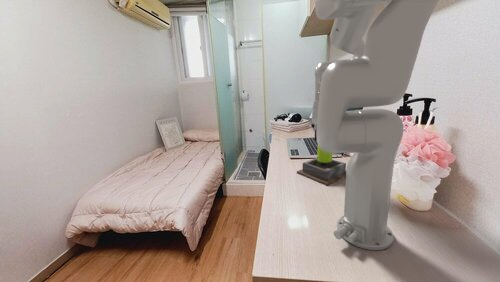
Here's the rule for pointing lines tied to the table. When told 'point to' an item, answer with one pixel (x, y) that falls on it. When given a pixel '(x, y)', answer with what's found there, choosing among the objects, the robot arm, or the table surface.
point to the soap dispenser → (323, 156)
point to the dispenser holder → (324, 171)
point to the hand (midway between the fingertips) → (324, 141)
